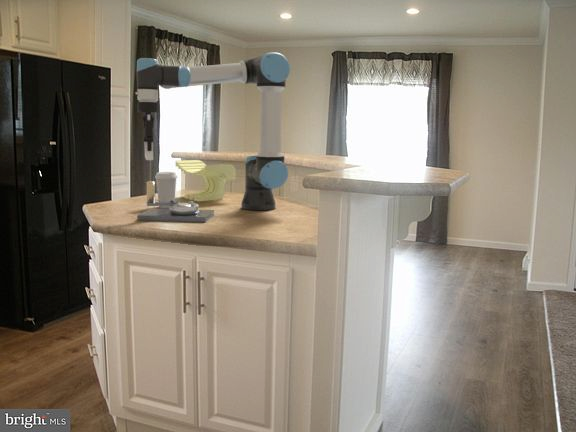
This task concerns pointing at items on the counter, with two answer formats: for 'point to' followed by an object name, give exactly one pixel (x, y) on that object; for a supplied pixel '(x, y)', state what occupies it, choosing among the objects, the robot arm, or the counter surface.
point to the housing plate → (174, 216)
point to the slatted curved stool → (208, 178)
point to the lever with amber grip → (174, 206)
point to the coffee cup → (166, 187)
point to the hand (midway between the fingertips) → (148, 158)
